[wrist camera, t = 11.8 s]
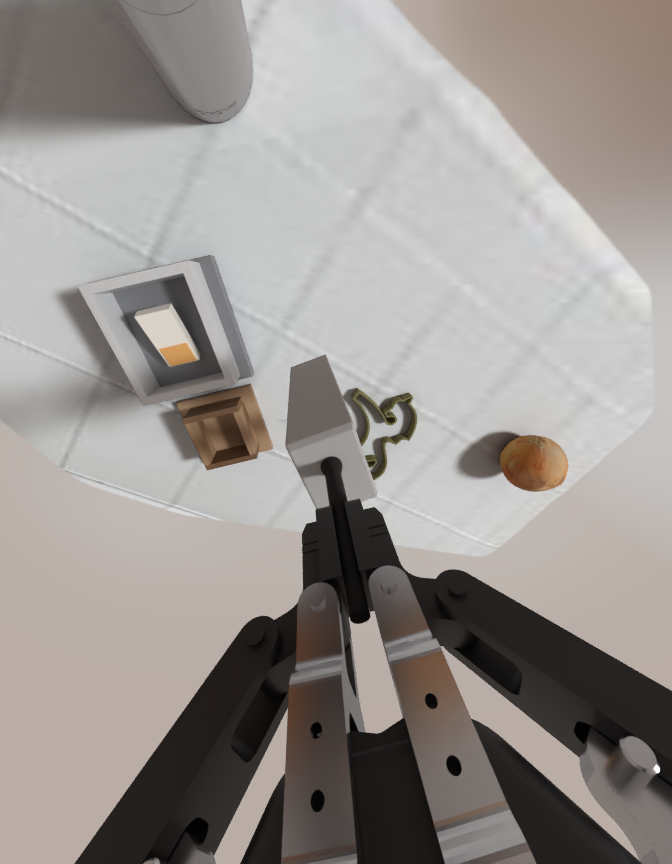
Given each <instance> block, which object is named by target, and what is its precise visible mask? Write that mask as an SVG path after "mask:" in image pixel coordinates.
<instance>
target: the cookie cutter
mask: <svg viewBox="0 0 672 864" xmlns="http://www.w3.org/2000/svg"><path fill="white" fill-rule="evenodd" d="M358 394H361V395H362V396H364V397H365V398H366V399H367V400H369V401H370V402H371V403H372V404H373V405H374V406H375V407H376V408H377V409H378V410H379V412H380V413H381V415H382V417H383V419H384V421H385V423H386V424H387V425H393V424H395V423H396V421H397V418H396V416H395V415H394V414H393V413H392V412H389V411H390V410H391V409H393V407H394V405H395V404H396V403H397V402H399V401H402V402H404V401H406V402H407V404H408V405H409V406H410V408H411V411H412V421H411V424H410V427H409V429H408V431H407V433H406V435H405V434H398V435H397V436H396V437H395V438H393V439H392V438H390V437H387V436H385V437H383V438H382V440H381V445H382V451H383V462H382V465H381V467H380V468H379V469H378V470H377V471H376V472H374V473H372V474H371V475H372V478H373V480H375V479H377V478H379V477H380V476H381V475H382V474H383V473H384V471H385V469H386V466H387V456H386V450H385V444H386V443H387V442H390V443H393V444H395V445H396V444H398V443H399V442H400V441H401V440H408V441H409V440H410V439H411V437H412V435H413V433H414V431H415V428H416V424H417V414H416V411H415V409H414V408H413V406H412V405H411V404H410V403H411V401H412V399H413V396H412V395H411V394H410V393H406V394H404V395H402V396H401V397H400V396H395V397H393V398H392V399H391V401H390V403H389V404H388V405H386V406H385V407H384V408H382V411H383V412H384V414H385V415H386V417H387V418H388V417H392V418H391V419H389V420H386V418H385V416H384V414H383V413H382V411H381V410H380V408H379V407H378V406H377V405H376V403H375V402H374V401H373V400H372V399H371V398H370V397H368V396H367V395H366V394H365V393H363V392H362V391H361V390H359V389H358V388H357V389H356V390H355V391H354V393H353V394H352V395H351V396H352V398H353V400H354V401H355V402H356V403H357V404H358V405H359V406H360V407H361V409H362V410H363V412H364V414H365V418H366V428H365V432H364V434H363V436H362V438H361V439H360V440H359V441H360V444H361V446H362V445H363V444H364V443H365V441H366V440H367V437H368V435H369V429H370V425H369V419H368V416H367V414H366V412H365V410H364V408H363V406H362V405H361V403H360V402H359V401H358V400H357V399H356V397H357V396H358ZM365 458H366V461H367V464H368V466H369V468H371V467H374V466H375V465H376V464H377V460H376V458H375V456H374V455H367V456H365Z"/></svg>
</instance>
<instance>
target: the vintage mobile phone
mask: <svg viewBox="0 0 672 864" xmlns="http://www.w3.org/2000/svg"><path fill="white" fill-rule="evenodd" d="M286 449H287V451H288V453H289V455H290V457H291V459H292V461H293V463H294V465H295V467H296V469H297V471H298V473H299V475H300V477H301V479H302V481H303V483H304V485H305V487H306V489H307V491H308V493H309V495H310V497H311V499H312V501H313V503H314V505H315V507H316V509H319V508H323V507H327V506H331V505H332V510H333V515H334V520H335V527H336V533H337V539H338V545H339V551H340V558H341V564H342V570H343V576H344V583H345V589H346V596H347V602H348V608H349V614H350V620H351V621H352V622H353V623H356V624H360V623H364V622H366V621H367V620H369V618H370V612H369V607H368V603H367V598H366V594H365V589H364V585H363V580H362V579H361V576H360V572H359V568H358V563H357V559H356V554H355V550H354V545H353V540H352V536H351V531H350V527H349V522H348V517H347V513H346V508H345V503H344V502H347V501H351V500H355V499H359V498H360V500H361V502H362V501H365V500H367V499H370V498H373V497H376V496H377V489H376V486H375V484H374V481H373V478H372V475H371V472H370V469H369V466H368V464H367V461H366V458H365V455H364V452H363V449H362V446H361V444H360V441H359V438H358V435H357V432H356V429H355V426H354V424H353V421H352V418H351V416H350V413H349V411H348V408H347V406H346V404H345V401H344V399H343V396H342V394H341V391H340V389H339V386H338V384H337V381H336V379H335V376H334V374H333V372H332V369H331V367H330V364H329V362H328V359H327V357H326V355H323V356H320V357H318V358H315V359H312V360H310V361H307V362H304V363H302V364H299V365H296V366H294V367H291V373H290V387H289V402H288V416H287V431H286Z"/></svg>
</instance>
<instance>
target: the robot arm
mask: <svg viewBox="0 0 672 864" xmlns="http://www.w3.org/2000/svg"><path fill="white" fill-rule="evenodd" d="M110 2H111V3H112V5H113V6H114V8H115V9H116V11H117V12H118V14H119V15H120V17H121V18H122V20H123V21H124V23H125V24H126V26H127V27H128V29H129V30H130V32H131V34H132V35H133V37H134V38H135V40H136V41H137V43H138V44H139V46H140V47H141V49H142V50H143V52H144V53H145V55H146V56H147V58H148V59H149V61H150V62H151V64H152V65H153V67H154V69H155V70H156V72H157V73H158V75H159V76H160V78H161V79H162V81H163V82H164V84H165V85H166V87H167V88H168V90H169V91H170V93H171V94H172V95H173V97H174V98H175V100H176V101H177V102H178V103H179V104H180V105H181V106H182V107H183V108H184V109H185V110H186V111H187V112H189V113H190V114H191V115H193V116H194V117H197V118H199V119H201V120H203V121H207V122H212V123H215V122H224V121H226V120H229V119H231V118H232V117H234V116H235V115H236V114H238V113H239V112H240V110H241V109H242V108H243V106H244V105H245V103H246V101H247V99H248V96H249V94H250V90H251V85H252V77H253V64H252V54H251V49H250V44H249V39H248V34H247V29H246V23H245V18H244V13H243V8H242V2H241V0H110ZM344 503H345V508H346V513H347V517H348V522H349V527H350V531H351V536H352V540H353V545H354V550H355V554H356V559H357V563H358V568H359V572H360V576H361V579H362V580H363V585H364V589H365V594H366V598H367V603H368V607H369V610H370V612H371V611H375V614H376V618H377V622H378V626H379V630H380V634H381V638H382V642H383V645H384V649H385V653H386V656H387V660H388V664H389V667H390V671H391V675H392V679H393V682H394V686H395V689H396V693H397V697H398V701H399V705H400V709H401V712H402V716H403V719H401V720H400V721H398V722H397V723H395V724H394V725H392V726H391V727H389V728H388V729H387V730H385V731H383V732H382V733H378V734H374V733H365V728H364V722H363V717H362V712H361V707H360V702H359V695H358V687H357V678H356V670H355V662H354V654H353V646H352V639H351V630H350V624H349V617H350V614H349V608H348V602H347V596H346V589H345V583H344V576H343V570H342V564H341V558H340V551H339V545H338V539H337V533H336V527H335V520H334V515H333V510H332V505H331V506H327V507H323V508H319V509H316V522H312V523H308V524H306V526H305V528H304V531H303V533H302V544H303V547H302V551H303V552H302V553H303V592H302V594H301V596H300V597H299V600H298V603H297V604H296V605H295V606H294V608H292V609H291V610H290V611H288V612H287V613H285V614H284V615H282V616H281V617H279V618H277V619H275V620H273V619H272V618H270V617H268V616H260V617H256V618H254V619H252V620H251V621H249V622H248V623H247V624H246V625H245V626H244V627H243V628H242V629H241V631H240V632H239V634H238V635H237V636H236V638H235V639H234V641H233V642H232V643H231V645H230V646H229V648H228V649H227V651H226V652H225V653H224V655H223V656H222V658H221V659H220V660H219V662H218V663H217V665H216V666H215V667H214V669H213V670H212V672H211V673H210V674H209V676H208V677H207V679H206V680H205V682H204V683H203V684H202V686H201V687H200V688H199V690H198V691H197V693H196V694H195V696H194V697H193V698H192V700H191V701H190V703H189V704H188V705H187V707H186V708H185V710H184V711H183V712H182V714H181V715H180V717H179V718H178V719H177V721H176V722H175V723H174V725H173V726H172V728H171V729H170V730H169V732H168V733H167V735H166V736H165V738H164V739H163V740H162V742H161V743H160V745H159V746H158V748H157V749H156V750H155V752H154V753H153V754H152V756H151V757H150V759H149V760H148V761H147V763H146V764H145V766H144V767H143V769H142V770H141V771H140V773H139V774H138V776H137V777H136V778H135V780H134V781H133V782H132V784H131V785H130V787H129V788H128V789H127V791H126V792H125V794H124V795H123V797H122V798H121V799H120V801H119V802H118V804H117V805H116V807H115V808H114V809H113V811H112V812H111V813H110V815H109V816H108V818H107V819H106V820H105V822H104V823H103V825H102V826H101V827H100V829H99V830H98V832H97V833H96V835H95V836H94V837H93V839H92V840H91V842H90V843H89V844H88V846H87V847H86V848H85V850H84V851H83V853H82V854H81V856H80V857H79V858H78V860H77V861H76V863H75V864H216V863H215V859H214V854H215V852H216V850H217V848H218V846H219V844H220V842H221V840H222V838H223V836H224V834H225V832H226V830H227V828H228V826H229V824H230V822H231V820H232V818H233V816H234V814H235V812H236V810H237V808H238V806H239V804H240V802H241V800H242V798H243V796H244V794H245V792H246V790H247V788H248V786H249V784H250V782H251V780H252V778H253V776H254V774H255V772H256V770H257V768H258V766H259V764H260V762H261V760H262V758H263V756H264V754H265V752H266V750H267V748H268V746H269V744H270V742H271V740H272V738H273V736H274V734H275V732H276V730H277V728H278V726H279V724H280V722H281V720H282V718H283V716H284V714H285V712H286V710H287V708H288V722H287V744H286V766H285V774H284V775H283V777H282V778H281V780H280V781H279V783H278V785H277V786H276V788H275V790H274V792H273V794H272V796H271V798H270V800H269V802H268V804H267V806H266V808H265V811H264V813H263V815H262V817H261V819H260V822H259V824H258V826H257V828H256V830H255V833H254V835H253V837H252V839H251V841H250V844H249V846H248V848H247V850H246V852H245V855H244V857H243V859H242V861H241V863H240V864H672V691H671V690H669V689H667V688H665V687H664V686H662V685H660V684H658V683H656V682H655V681H653V680H651V679H650V678H648V677H646V676H644V675H643V674H641V673H639V672H638V671H636V670H634V669H633V668H631V667H629V666H627V665H625V664H624V663H622V662H620V661H619V660H617V659H615V658H613V657H612V656H610V655H608V654H606V653H605V652H603V651H601V650H600V649H598V648H596V647H594V646H593V645H591V644H589V643H587V642H586V641H584V640H582V639H580V638H579V637H577V636H575V635H574V634H572V633H570V632H568V631H567V630H564V629H563V628H561V627H560V626H558V625H556V624H554V623H553V622H551V621H549V620H548V619H546V618H544V617H542V616H540V615H539V614H537V613H535V612H534V611H532V610H530V609H528V608H527V607H525V606H523V605H522V604H520V603H518V602H516V601H515V600H513V599H511V598H509V597H508V596H506V595H504V594H502V593H501V592H499V591H497V590H495V589H494V588H492V587H490V586H489V585H486V584H485V583H483V582H482V581H480V580H478V579H476V578H475V577H473V576H471V575H469V574H468V573H466V572H463V571H460V570H447V571H444V572H442V573H441V574H439V576H438V577H437V578H436V579H429V578H419V577H416V576H413V575H411V574H410V573H408V572H407V571H405V569H404V568H403V567H402V565H401V564H400V561H399V559H398V556H397V553H396V550H395V548H394V545H393V542H392V540H391V537H390V534H389V532H388V529H387V526H386V523H385V521H384V518H383V515H382V514H381V513H380V512H379V511H378V510H377V509H376V508H375V507H373V508H369V509H365V510H363V507H362V504H361V500H360V498H359V499H355V500H351V501H347V502H344ZM440 646H444V648H445V649H446V650H447V651H448V652H450V653H451V654H452V655H453V656H454V657H456V658H457V659H458V660H460V661H461V662H462V663H463V664H465V665H466V666H467V667H468V668H469V669H471V670H472V671H473V672H474V673H476V674H477V675H478V676H479V677H480V678H482V679H483V680H484V681H485V682H487V683H488V684H489V685H491V686H492V687H493V688H494V689H495V690H497V691H498V692H499V693H500V694H502V695H503V696H504V697H505V698H507V699H508V700H509V701H510V702H511V703H513V704H514V705H515V706H516V707H518V708H519V709H520V710H521V711H523V712H524V713H525V714H526V715H528V716H529V717H530V718H531V719H532V720H534V721H535V722H536V723H538V724H539V725H540V726H541V727H543V728H544V729H545V730H546V731H547V732H549V733H550V734H551V735H552V736H554V737H555V738H556V739H557V740H559V741H560V742H561V743H562V744H563V745H565V746H566V747H567V748H568V749H570V750H571V751H572V752H573V753H575V754H576V755H577V756H578V757H579V758H580V768H581V772H582V775H583V778H584V780H585V783H586V785H587V787H588V789H589V791H590V792H591V794H592V795H593V797H594V798H595V800H596V801H597V802H598V804H599V805H600V806H601V807H602V808H603V809H604V810H605V811H606V812H607V813H608V814H609V815H610V817H611V818H613V819H614V821H615V822H616V823H617V824H618V825H619V827H620V828H621V829H622V830H623V832H624V833H625V835H626V836H627V837H628V839H629V841H630V842H631V844H632V846H633V848H634V849H635V851H636V853H637V856H638V858H639V860H640V861H639V860H637V859H636V858H635V857H634V856H633V855H632V854H631V853H630V852H629V851H627V850H626V849H625V848H624V847H623V846H622V845H620V843H618V842H617V841H616V840H615V839H614V838H613V837H612V836H611V835H610V834H608V833H607V832H606V831H605V830H604V829H603V828H602V827H601V826H600V825H598V824H597V823H596V822H595V821H594V820H593V819H592V818H591V817H589V816H588V815H587V814H586V813H585V812H584V811H583V810H582V809H581V808H580V807H578V806H577V805H576V804H575V803H574V802H573V801H572V800H571V799H569V798H568V797H567V796H566V795H565V794H564V793H563V792H562V791H560V790H559V789H558V788H557V787H556V786H555V785H554V784H553V783H552V782H551V781H549V780H548V779H547V778H546V777H545V776H544V775H543V774H542V773H540V772H539V771H538V770H537V769H536V768H535V767H534V766H533V765H532V764H530V763H529V762H528V761H527V760H526V759H525V758H524V757H523V756H522V755H521V754H519V753H518V752H517V751H516V750H515V749H514V748H513V747H512V746H511V745H509V744H508V743H507V742H506V741H505V740H504V739H503V738H501V737H500V736H499V735H498V734H496V733H495V732H494V731H492V730H491V729H490V728H488V727H487V726H484V725H483V724H481V723H480V722H478V721H475V720H473V719H471V717H470V715H469V713H468V710H467V708H466V705H465V703H464V701H463V698H462V696H461V694H460V691H459V689H458V687H457V684H456V682H455V680H454V678H453V675H452V673H451V670H450V668H449V666H448V663H447V661H446V659H445V656H444V654H443V652H442V650H441V647H440Z"/></svg>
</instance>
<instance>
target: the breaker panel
mask: <svg viewBox="0 0 672 864" xmlns="http://www.w3.org/2000/svg"><path fill="white" fill-rule="evenodd" d="M78 288H79V290H80V292H81V294H82V296H83V297H84V299H85V301H86V303H87V305H88V306H89V308H90V310H91V312H92V314H93V315H94V317H95V319H96V321H97V323H98V325H99V326H100V328H101V330H102V332H103V334H104V335H105V337H106V339H107V341H108V343H109V344H110V346H111V348H112V350H113V352H114V354H115V355H116V357H117V359H118V361H119V363H120V364H121V366H122V368H123V370H124V372H125V373H126V375H127V377H128V379H129V381H130V383H131V384H132V386H133V388H134V390H135V392H136V393H137V395H138V397H139V399H140V401H141V403H142V404H143V406H145V405H149V404H154V403H158V402H162V401H166V400H170V399H175V398H179V397H183V396H187V395H192V394H196V393H200V392H204V391H208V390H213V389H217V388H221V387H225V386H229V385H234V384H236V382H237V381H238V380H239V379H244V378H248V377H252V376H253V374H254V371H253V368H252V365H251V362H250V360H249V357H248V354H247V351H246V348H245V345H244V342H243V339H242V336H241V333H240V330H239V327H238V325H237V322H236V319H235V316H234V313H233V310H232V307H231V304H230V301H229V298H228V295H227V293H226V290H225V287H224V284H223V281H222V278H221V275H220V272H219V269H218V266H217V263H216V260H215V258H214V256H211V255H208V256H204V257H200V258H195V259H191V260H187V261H182V262H178V263H174V264H169V265H165V266H161V267H156V268H152V269H148V270H143V271H139V272H135V273H130V274H126V275H122V276H117V277H113V278H109V279H105V280H100V281H96V282H92V283H87V284H84V285H80V286H78ZM170 303H171V304H172V305H173V307H174V309H175V311H176V312H177V314H178V316H179V317H180V319H181V321H182V323H183V324H184V326H185V328H186V329H187V331H188V333H189V335H190V336H191V338H192V340H193V341H194V343H195V345H196V347H197V348H198V350H199V352H200V353H201V355H200V360H197V361H193V362H189V363H184V364H180V365H176V366H172V367H169V366H168V364H167V363H166V361H165V360H164V359H163V357H162V356H161V354H160V353H159V352H158V350H157V349H156V347H155V346H154V344H153V343H152V342H151V340H150V339H149V337H148V336H147V335H146V333H145V332H144V330H143V329H142V327H141V326H140V325H139V323H138V322H137V320H136V319H135V318H134V316H135V314H136V312H137V311H140V310H144V309H149V308H153V307H157V306H161V305H166V304H170Z"/></svg>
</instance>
